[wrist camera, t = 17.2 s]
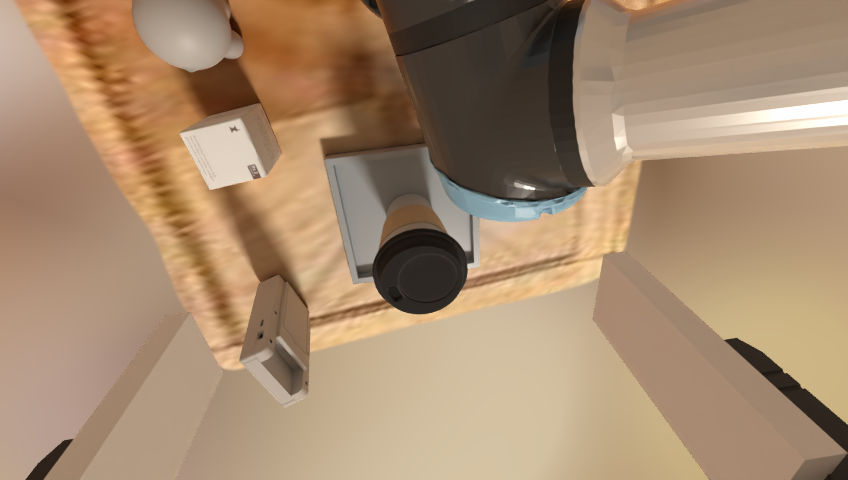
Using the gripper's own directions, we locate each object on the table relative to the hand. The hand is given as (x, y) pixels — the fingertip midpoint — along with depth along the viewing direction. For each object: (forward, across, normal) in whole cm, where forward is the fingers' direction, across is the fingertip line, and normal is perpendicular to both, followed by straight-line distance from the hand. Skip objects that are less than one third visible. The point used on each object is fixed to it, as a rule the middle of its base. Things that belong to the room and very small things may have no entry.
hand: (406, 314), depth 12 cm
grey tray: (+35, +1, -13) cm, 37 cm away
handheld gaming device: (+35, -17, -24) cm, 46 cm away
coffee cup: (+34, +1, -13) cm, 37 cm away
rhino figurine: (+35, -16, +12) cm, 40 cm away
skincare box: (+35, -16, -1) cm, 38 cm away
